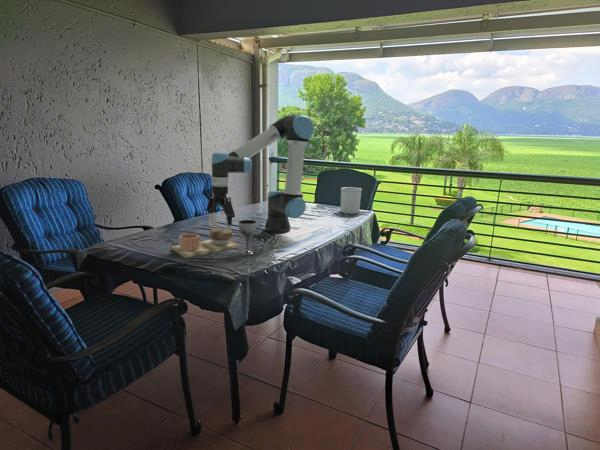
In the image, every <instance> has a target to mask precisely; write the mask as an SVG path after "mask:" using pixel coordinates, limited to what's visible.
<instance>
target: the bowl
mask: <svg viewBox="0 0 600 450" xmlns="http://www.w3.org/2000/svg"><path fill="white" fill-rule="evenodd" d="M178 238H179V239H178V240H179V244H178V245H180V250H182V251H195V250H198V249H199V248H200V234H197V233H183V234H180V235H179V236H178Z"/></svg>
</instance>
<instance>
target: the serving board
mask: <svg viewBox="0 0 600 450" xmlns="http://www.w3.org/2000/svg"><path fill="white" fill-rule="evenodd" d="M239 248H240V244H239V243H237V242H235V241H233V240H231V239H229V244H226V245H215V244H213V239H207V240H201V241H200V248H199V249H198V250H195V251H182V250H180V244H178V245H172V246H171V250H172V251H173V252H175V253H177V254H178V255H180V257H183V258H184V259H185V258H187V259H188V258H191V257H196V256H202V255H207V254H212V253H216V252H222V251H228V250H234V249H239Z"/></svg>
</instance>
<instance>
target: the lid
mask: <svg viewBox="0 0 600 450" xmlns="http://www.w3.org/2000/svg"><path fill="white" fill-rule="evenodd" d="M232 238H233V230H232V229H231V231H229V232H226V227H225V228H224V227H221V228H220V227H218V228H212V229H210V230H209V239H210V240H212V239H214V240H227V239H229V240H231V239H232Z"/></svg>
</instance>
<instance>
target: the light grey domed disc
mask: <svg viewBox="0 0 600 450" xmlns="http://www.w3.org/2000/svg"><path fill="white" fill-rule="evenodd" d="M229 240H230V239H227V240H214V239H213V244H215V245H226V244H229Z"/></svg>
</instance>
